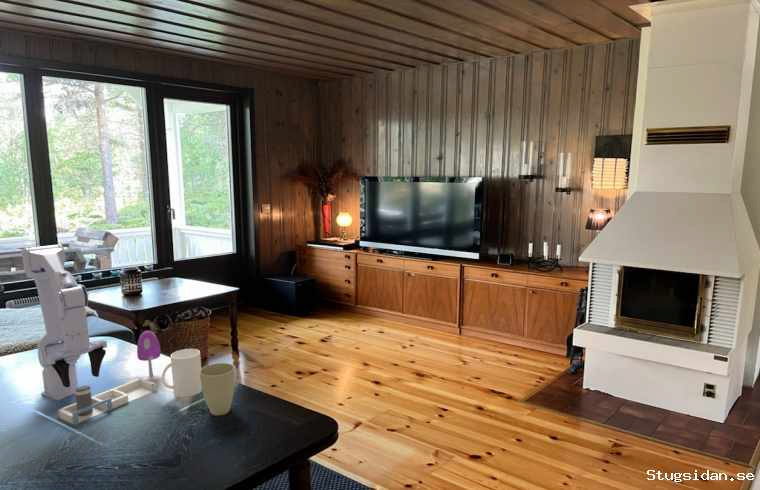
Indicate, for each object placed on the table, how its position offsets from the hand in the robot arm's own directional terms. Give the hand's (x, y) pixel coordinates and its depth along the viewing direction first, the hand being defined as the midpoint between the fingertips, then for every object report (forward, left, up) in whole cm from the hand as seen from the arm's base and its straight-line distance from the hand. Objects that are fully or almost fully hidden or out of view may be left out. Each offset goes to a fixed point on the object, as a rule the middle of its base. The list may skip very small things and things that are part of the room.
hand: (81, 381), depth 140 cm
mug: (+12, +22, -10) cm, 27 cm away
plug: (0, 0, -9) cm, 9 cm away
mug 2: (+29, +21, -10) cm, 37 cm away
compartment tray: (0, +7, -10) cm, 12 cm away
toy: (-8, +25, -10) cm, 28 cm away
